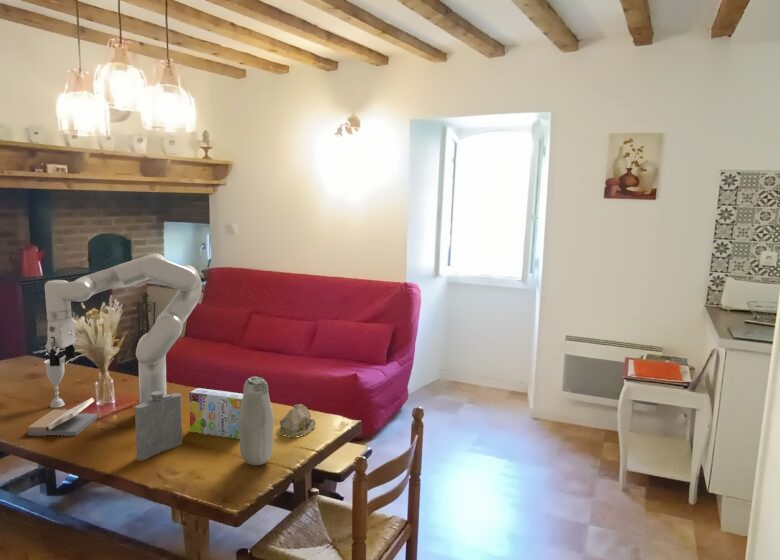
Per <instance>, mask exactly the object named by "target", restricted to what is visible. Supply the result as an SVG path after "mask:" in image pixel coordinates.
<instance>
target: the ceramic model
mask: <svg viewBox="0 0 780 560" xmlns="http://www.w3.org/2000/svg"><path fill="white" fill-rule="evenodd" d="M311 417H312V415H311V413H310V411H309V409H308V407H307V406H305V405H304V404H302V403H299V404H297V403H295V404H294V405H293V407H292V408H290V409H289V411H288V412H287V413H286V414H285V415H284V416H283V418H282V419H281V420H279V424H280V426H279V428H278V429H276V435H277V434H279V435H278V436H280V435H286V436H290V437H296V436H301V435H305V434H306V433H308V432H309V433H310V431H311V430H312V429H313V428H314V429H315V426H316V419H314V418H313V419H312V418H311ZM314 429H313V430H314ZM313 430H312V431H313ZM312 431H311V432H312ZM309 433H308V434H309ZM306 435H307V434H306ZM306 435H305V436H306ZM286 436H285V437H286ZM290 437H289V438H290Z"/></svg>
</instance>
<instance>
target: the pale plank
mask: <svg viewBox="0 0 780 560" xmlns="http://www.w3.org/2000/svg"><path fill="white" fill-rule="evenodd" d="M94 402H95V399H94V398H93V397H90V398H89V399H87V400H85V401H83V402H81V403H79V404H78V405H76V406H74V407H72V408H70V409H68V410H69V411H67V412H66V413H65V414H63V415H62V416H60V417H59V418H58V419H56V420H55V421H54V422H52V423H51V424H50V425H48V426H47V427H48V428H49V430H50V429H52V428H54V427H56V426H58V425H59V424H61V423H63V422H65V421H67V420H69V419H71V418H72V417H74V416H75V415H77V414H80V413H81V412H82V411H83V410H85V409H86V408H88V406H90V405H91V404H92V403H94Z"/></svg>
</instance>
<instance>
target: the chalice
mask: <svg viewBox="0 0 780 560" xmlns="http://www.w3.org/2000/svg"><path fill="white" fill-rule="evenodd" d="M65 361H66V359H64V358H60V366H50V358H49V359H47V360H44V361H43V363H44V364H45V373H46V376H47V378H48V380H49V381H50V382H51V384H52V385H54V388H53V390H54V393H53V394H54V395H55V397H54V399H52V400H51V402H50V405H49V407H50V408H52V409H53V408H54V409H56V408H60V407H63V406H65V405H66V403H65V402H64V400H63V398H60V397H59V394H60V391H59V384H60V383H61V381H62V379H63V377H64V375H65Z"/></svg>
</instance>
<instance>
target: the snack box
mask: <svg viewBox="0 0 780 560" xmlns="http://www.w3.org/2000/svg"><path fill="white" fill-rule="evenodd" d="M242 400H243V393H241V392H240V393H239V392H232V391H224V390H218V389H216V390H215V389H209V388H208V389H207V388H203V387H202V388H201V387H197V388H195V389H193V390H192V391H189V432H190V431H192V432H191V433H195V432H198V433H197V434H202V433H204V434H203V435H208V434H211V435H210V436H214V435H217V436H216V437H220V436H222V437H221V438H227V437H229V438H228V439H233V438H236V439H235V440H239V439H240V432H239V414H240V409H241V404H242Z"/></svg>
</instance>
